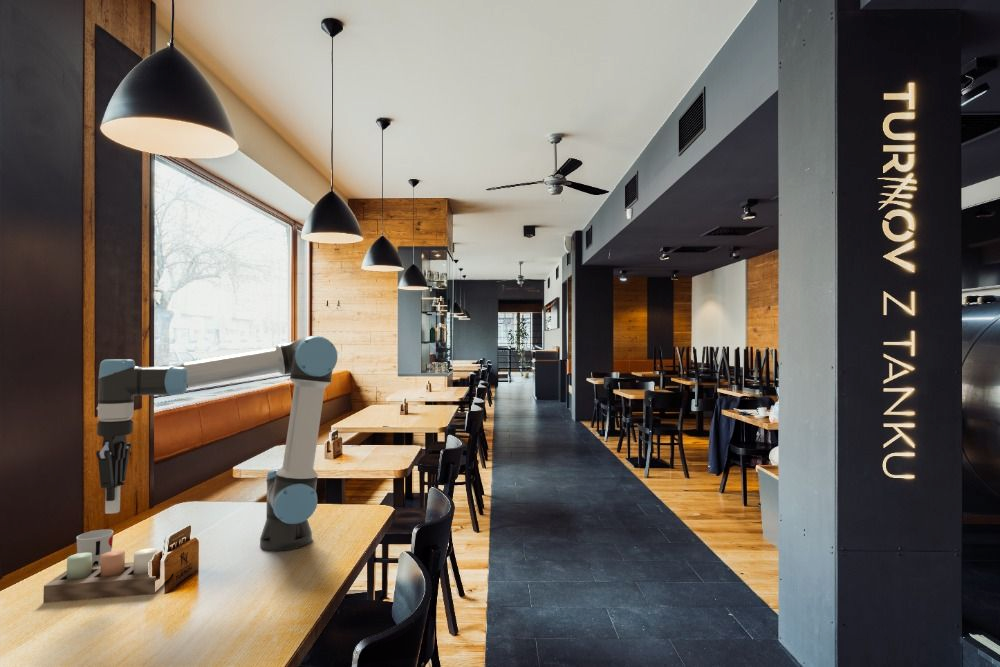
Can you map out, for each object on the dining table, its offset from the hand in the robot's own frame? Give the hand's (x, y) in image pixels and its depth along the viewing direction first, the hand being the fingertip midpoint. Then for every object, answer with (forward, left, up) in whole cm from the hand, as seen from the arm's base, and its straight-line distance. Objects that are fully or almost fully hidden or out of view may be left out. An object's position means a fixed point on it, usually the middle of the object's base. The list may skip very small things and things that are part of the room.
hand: (112, 512), depth 139 cm
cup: (+10, -13, -19) cm, 25 cm away
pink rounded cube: (0, 0, -16) cm, 16 cm away
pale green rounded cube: (+7, 0, -16) cm, 17 cm away
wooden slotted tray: (0, 0, -19) cm, 19 cm away
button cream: (-8, 0, -16) cm, 17 cm away
